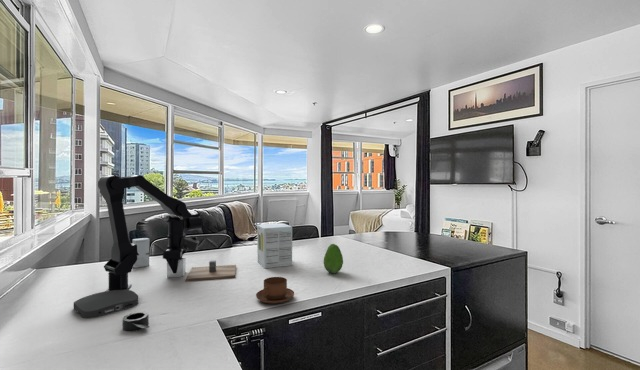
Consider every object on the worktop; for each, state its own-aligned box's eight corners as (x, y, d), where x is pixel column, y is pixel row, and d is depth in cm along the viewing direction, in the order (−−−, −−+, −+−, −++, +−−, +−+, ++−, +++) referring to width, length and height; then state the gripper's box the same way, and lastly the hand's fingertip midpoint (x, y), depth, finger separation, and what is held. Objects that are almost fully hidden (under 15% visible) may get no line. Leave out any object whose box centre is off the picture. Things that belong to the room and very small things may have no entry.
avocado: (335, 277, 123) (335, 246, 123) (320, 273, 128) (319, 244, 128) (346, 272, 129) (346, 243, 129) (331, 269, 134) (331, 241, 134)
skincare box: (134, 268, 136) (134, 240, 135) (131, 266, 139) (131, 239, 139) (150, 265, 140) (149, 238, 140) (147, 263, 143) (146, 237, 143)
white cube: (182, 276, 124) (182, 261, 124) (167, 277, 123) (166, 262, 123) (185, 272, 130) (185, 257, 130) (170, 273, 128) (170, 258, 128)
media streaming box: (124, 294, 105) (124, 285, 105) (142, 305, 96) (142, 295, 96) (70, 308, 94) (70, 298, 94) (84, 322, 84) (84, 311, 84)
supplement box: (256, 261, 147) (256, 224, 147) (283, 258, 152) (283, 222, 152) (264, 268, 135) (264, 228, 135) (293, 265, 140) (292, 226, 140)
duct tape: (155, 317, 87) (155, 306, 87) (149, 333, 78) (149, 321, 78) (123, 321, 85) (123, 310, 85) (113, 339, 75) (113, 327, 75)
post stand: (235, 277, 122) (235, 265, 122) (185, 281, 118) (185, 268, 118) (235, 267, 138) (235, 255, 137) (192, 269, 133) (192, 258, 133)
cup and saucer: (287, 308, 93) (287, 287, 93) (249, 305, 95) (249, 285, 95) (298, 294, 105) (298, 275, 105) (264, 291, 107) (264, 273, 107)
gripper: (194, 235, 119) (194, 276, 119) (200, 228, 137) (200, 263, 137) (162, 236, 116) (162, 278, 116) (172, 229, 134) (173, 265, 134)
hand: (176, 270), depth 126 cm, fingers closed on white cube, 6 cm apart
